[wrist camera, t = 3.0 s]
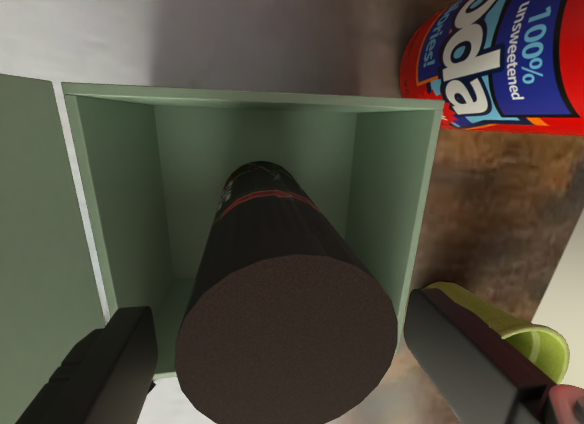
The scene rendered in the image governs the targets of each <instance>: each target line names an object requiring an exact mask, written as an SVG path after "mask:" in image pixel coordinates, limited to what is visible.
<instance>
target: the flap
mask: <svg viewBox="0 0 584 424" xmlns="http://www.w3.org/2000/svg"><path fill="white" fill-rule="evenodd" d="M100 328H105V321H104V317H103V312H102V308H101V303H100V299H99V294H98V289H97V285H96V280H95V276H94V271H93V267H92V262H91V258H90V253H89V249H88V244H87V239H86V235H85V230H84V226H83V221H82V217H81V212H80V208H79V203H78V198H77V194H76V189H75V185H74V180H73V176H72V171H71V167H70V162H69V158H68V153H67V148H66V144H65V139H64V135H63V130H62V126H61V121H60V117H59V112H58V107H57V103H56V98H55V94H54V89H53V85H52V82H51V81H47V80H40V79H34V78H27V77H20V76H13V75H6V74H0V424H15V423H16V421H17V420H18V419H19V418H20V416H21V415H22V414H23V412H24V411H25V410H26V408H27V407H28V406H29V404H30V403H31V402H32V400H33V399H34V398H35V397H36V395H37V394H38V393H39V391H40V390H41V389H42V387H43V386H44V385H45V384H46V383H48V382H49V378H50V377H51V376H52V374H53V373H54V372H55V370H56V369H57V368H58V367H60V366H61V362H62V361H63V360H64V358H65V357H66V356H67V354H68V353H69V352H70V351H71V349H72V348H73V347H74V345H75V344H76V343H78V342H79V341H80V340H82V339H83V338H84V337H85V336H87V335H88V334H89V333H90V332H92V331H93V330H94V329H100Z"/></svg>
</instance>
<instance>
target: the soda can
mask: <svg viewBox="0 0 584 424" xmlns="http://www.w3.org/2000/svg"><path fill="white" fill-rule="evenodd" d="M399 82H400V90H401V95H402V98H413V99H434V100H444V101H445V102H444V107H443V109H442V110H443V112H442V118H441V123H440V129H455V130H474V131H493V132H512V133H531V134H550V135H569V136H584V0H459V1H457V2H455V3H453V4H451V5H449V6H448V7H446V8H444V9H442V10H441V11H439V12H437V13H436V14H434V15H433V16H431V17H430V18H429V19H427V20H426V21H425V22H424V23H423V24H422V25H421V26H420V27H419V28H418V29H417V30H416V32H415V33H414V34H413V36H412V37H411V39H410V41H409V42H408V44H407V47H406V49H405V51H404V54H403V57H402V61H401V66H400V75H399Z"/></svg>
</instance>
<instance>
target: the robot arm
mask: <svg viewBox="0 0 584 424" xmlns="http://www.w3.org/2000/svg"><path fill="white" fill-rule="evenodd" d="M404 338H405V342H406V344H407V346H408V348H409V350H410V351H411V353H412V354H413V356H414V357H415V358H416V360H417V361H418V363H419V364H420V366H421V367H422V368H423V370H424V371H425V373H426V374H427V376H428V377H429V378H430V380H431V381H432V383H433V384H434V386H435V387H436V389H437V390H438V391H439V393H440V394H441V396H442V397H443V399H444V400H445V401H446V403H447V404H448V406H449V407H450V409H451V410H452V411H453V413H454V414H455V416H456V417H457V419H458V420H459V421H460V423H461V424H584V389H582V388H579V387H575V386H572V385H565V384H560V385H558V384H556V383H555V382H554V381H553V380H552V379H551V378H549V377H548V376H547V375H546V374H545V373H544V372H542V371H541V370H540V369H539V368H538V367H537V366H535V365H534V364H533V363H532V362H531V361H530V360H528V359H527V358H526V357H525V356H524V355H523V354H521V353H520V352H519V351H518V350H517V349H516V348H514V347H513V346H512V345H511V344H510V343H509V342H508V341H506V340H505V339H502V338H501V335H499V334H498V333H497V332H496V331H495V330H494V329H492V328H489V325H488V324H487V323H485V322H484V321H483V320H482V319H481V318H480V317H478V316H477V315H476V314H475V313H474V312H472V311H470V310H468V309H466V308H465V307H463V306H461V305H459V304H458V303H455V302H454V301H453V300H452V299H451V298H450V297H448V296H447V295H446V294H445V293H444V292H443V291H442V290H440V289H438V288H426V289H414V290H412V292H411V293H410V297H409V302H408V307H407V313H406V318H405V323H404ZM157 360H158V347H157V340H156V334H155V327H154V321H153V314H152V310H151V307H150V306H139V307H124V308H119V309H117V311H116V312H115V313H114V315H113V316H112V318H111V319H110V321H109V322H108V323H107V325H106V326H105V328H100V329H94V330H93V331H92V332H90V333H89V334H88V335H87V336H85V337H84V338H83V339H82V340H80V341H79V342H78V343H76V344H75V345H74V347H73V348H72V349H71V351H70V352H69V353H68V354H67V356H66V357H65V358H64V360H63V361H62V362H61V366H60V367H58V368H57V369H56V370H55V372H54V373H53V374H52V376H51V377H50V378H49V382H48V383H46V384H45V385H44V386H43V387H42V389H41V390H40V391H39V393H38V394H37V395H36V397H35V398H34V399H33V400H32V402H31V403H30V404H29V406H28V407H27V408H26V410H25V411H24V412H23V414H22V415H21V416H20V418H19V419H18V420H17V421H16V423H15V424H137V421H138V418H139V415H140V413H141V410H142V407H143V404H144V402H145V399H146V396H147V393H148V391H149V388H150V385H151V382H152V380H153V377H154V374H155V371H156V367H157Z"/></svg>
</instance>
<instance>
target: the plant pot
mask: <svg viewBox="0 0 584 424" xmlns="http://www.w3.org/2000/svg"><path fill="white" fill-rule="evenodd" d="M426 288H438V289H440V290H442V291H443V292H444V293H445V294H446V295H447V296H448V297H450V298H451V299H452V300H453V301H454V302H455V303H458V304H459V305H461V306H463V307H465V308H466V309H468V310H470V311H472V312H474V313H475V314H476V315H477V316H478V317H480V318H481V319H482V320H483V321H484V322H485V323H487V324H488V325H489V328H492V329H494V330H495V331H496V332H497V333H498V334H499V335H501V338H502V339H505V340H506V341H508V342H509V343H510V344H511V345H512V346H513V347H514V348H516V349H517V350H518V351H519V352H520V353H521V354H523V355H524V356H525V357H526V358H527V359H528V360H530V361H531V362H532V363H533V364H534V365H535V366H537V367H538V368H539V369H540V370H541V371H542V372H544V373H545V374H546V375H547V376H548V377H549V378H551V379H552V380H553V381H554V382H555V383H556V384H558V385H560V383H561V381H562V379H563V378H564V375H565V373H566V371H567V368H568V364H569V357H570V352H569V348H568V344H567V342H566V340H565V339H564V337H563V336H562V335H561V334H559V333H558V332H556V331H555V330H553V329H551V328H549V327H546V326H543V325H536V324H532V323H531V322H529V321H526V320H524V319H520V318H516V317H514V316H512V315H510V314H508V313H507V312H505V311H503V310H501V309H500V308H498V307H496V306H494V305H492V304H491V303H489V302H487V301H485V300H483V299H482V298H480V297H478V296H476V295H475V294H473V293H471V292H469V291H468V290H466V289H464V288H463V287H461V286H459V285H457V284H455V283H449V282H435V283H432V284H430V285H428V286H426V287H425V288H424V289H426Z"/></svg>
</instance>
